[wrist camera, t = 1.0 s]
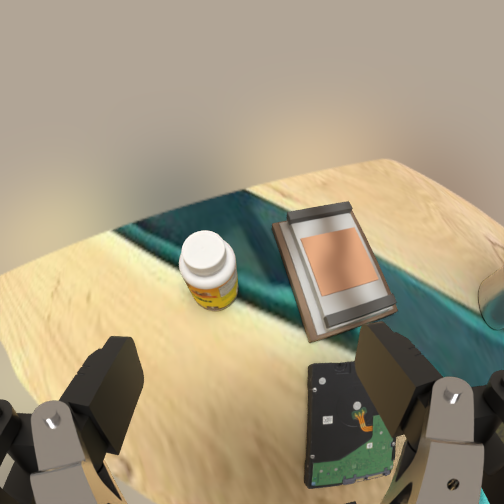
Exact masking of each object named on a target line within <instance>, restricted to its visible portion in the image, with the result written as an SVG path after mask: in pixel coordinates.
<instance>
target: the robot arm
mask: <svg viewBox="0 0 504 504" xmlns="http://www.w3.org/2000/svg"><path fill="white" fill-rule="evenodd" d="M478 297H479V305H480V310H481V313H482V315H483V317H484V319H485V321H486V323H487V324H488V325H489V326H490V327H491V328H493V329H495V330H500V329H503V328H504V266H502V267H501V268H500V269H498V270H497V271H496V272H494V273H493V274H492V275H490V276H489V277H488V278H486V279H485V280H484V281H483V282H482V283H481V285H480V288H479V296H478ZM355 370H356V373H357V376H358V377H359V379H360V381H361V383H362V385H363V386H364V388H365V390H366V392H367V393H368V395H369V397H370V399H371V401H372V402H373V404H374V406H375V408H376V410H377V411H378V413H379V415H380V417H381V419H382V421H383V422H384V424H385V426H386V428H387V430H388V432H389V434H390V435H391V437H392V438H395V437H397V436H400V435H403V434H405V436H406V438H407V439H406V441H405V443H404V445H403V449H402V452H401V456H400V459H399V462H398V465H397V468H396V471H395V474H394V477H393V480H392V482H391V485H390V487H389V489H388V491H387V493H386V495H385V496H384V498H383V500H382V501H381V503H380V504H479V499H480V492H481V487H482V489H483V491H484V493H485V495H486V497H487V499H488V501H489V503H490V504H504V443H503V442H502V440H501V439H500V437H499V436H498V435H497V433H496V430H497V429H498V428H499V426H500V425H501V423H502V422H503V423H504V370H499V371H496V372H494V373H493V374H492V376H491V378H490V380H489V382H488V384H487V385H484V386H477V387H470V385H469V384H468V383H467V382H465V381H464V380H462V379H459V378H456V377H444V378H443V376H442V375H441V374H440V373H439V372H438V371H437V370H436V369H435V367H434V366H433V365H432V364H431V363H430V362H429V361H428V360H427V359H426V358H425V357H424V355H421V352H420V351H419V350H418V349H417V348H415V346H414V345H413V344H412V343H411V342H410V340H409V339H408V338H406V337H404V336H402V335H400V334H399V333H397V332H395V333H394V332H393V331H392V330H391V329H390V328H389V327H388V326H387V325H386V324H385V323H384V322H382V321H381V322H375V323H369V324H363V325H362V327H361V329H360V335H359V341H358V346H357V352H356V357H355ZM143 384H144V375H143V370H142V367H141V363H140V360H139V357H138V354H137V350H136V347H135V343H134V341H133V339H132V338H131V337H122V336H111V337H110V338H109V339H108V340H107V342H106V343H105V345H104V346H103V348H102V349H98V350H96V351H95V352H94V353H92V354H91V355H89V356H88V358H87V359H86V361H85V362H84V364H83V365H82V367H81V368H80V369H79V371H78V372H77V375H75V377H74V378H73V380H72V381H71V383H70V384H69V386H68V387H67V389H66V390H65V392H64V393H63V395H62V396H61V398H60V400H59V401H47V402H44V403H42V404H41V405H39V406H38V407H37V408H36V409H35V410H34V412H33V413H32V414H23V413H16V412H15V410H14V409H13V407H12V405H11V404H10V403H9V402H8V401H6V400H0V466H1V464H2V462H3V459H4V458H5V456H6V454H7V453H8V454H9V455H10V456H11V458H12V459H13V460H14V461H15V462H14V464H13V466H12V468H11V471H10V473H9V475H8V477H7V480H6V482H5V485H4V487H3V489H2V488H1V487H0V504H127V502H126V500H125V499H124V497H123V495H122V493H121V491H120V490H119V488H118V486H117V484H116V482H115V480H114V478H113V476H112V474H111V472H110V470H109V468H108V466H107V464H106V462H105V460H104V458H105V455H106V453H111V454H115V455H119V453H120V450H121V447H122V444H123V441H124V438H125V435H126V432H127V430H128V427H129V424H130V421H131V418H132V415H133V413H134V410H135V407H136V404H137V402H138V399H139V396H140V394H141V391H142V388H143ZM346 504H356V501H354V502H350V503H346Z"/></svg>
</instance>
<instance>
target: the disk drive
mask: <svg viewBox="0 0 504 504" xmlns="http://www.w3.org/2000/svg"><path fill="white" fill-rule="evenodd" d="M307 428H308V429H307V448H306V460H305V476H304V483H305V485H306V486H307V487H308V489H313V488H323V487H331V486H338V485H342V484H343V485H347V484H352V483H354V482H359V481H364V480H365V479H366V480H368V479H373V478H377V477H381V476H382V475H385V476H387V475H389V474H390V473H391V469H393V460H395V445H396V444H395V443H396V437H395V438H392V437H391V435H390V434H389V432H388V430H387V428H386V426H385V424H384V422H383V421H382V419H381V417H380V415H379V413H378V411H377V410H376V408H375V406H374V404H373V402H372V401H371V399H370V397H369V395H368V393H367V392H366V390H365V388H364V386H363V385H362V383H361V381H360V379H359V377H358V376H357V373H356V370H355V361H354V362H345V363H314V364H311V365H310V366H308V423H307Z"/></svg>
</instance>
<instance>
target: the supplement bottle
mask: <svg viewBox="0 0 504 504" xmlns="http://www.w3.org/2000/svg"><path fill="white" fill-rule="evenodd" d="M179 269H180V272H181V274H182V277H183V278H184V280H185V282H186V284H187V286H188V288H189V290H190V292H191V293H192V295H193V297H194V299H195V300H196V302H197V303H198V304H199V305H200V306H202V307H203V308H205V309H208V310H213V311H217V310H222V309H225V308H227V307H228V306H230V305H231V304H232V303H233V302H234V300H235V299H236V297H237V294H238V279H237V269H236V259H235V254H234V252H233V250H232V248H231V247H230V245H229V244H228V243H226V242H225V241H224V240H223V239H222V238H221V237H220V236H219V235H218V234H216V233H214V232H211V231H199V232H196V233H194V234H192V235H190V236H189V237H188V238H187V239H186V240H185V242H184V244H183V246H182V253H181V256H180V259H179Z"/></svg>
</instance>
